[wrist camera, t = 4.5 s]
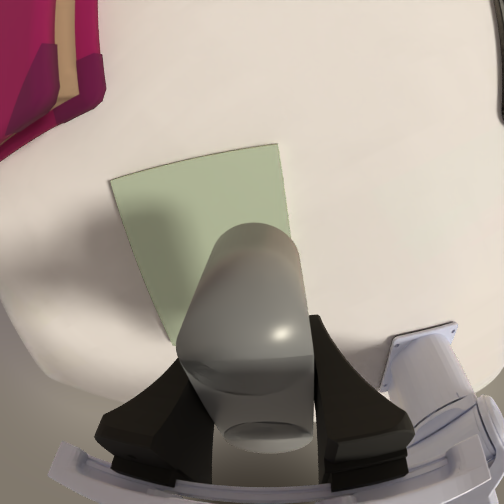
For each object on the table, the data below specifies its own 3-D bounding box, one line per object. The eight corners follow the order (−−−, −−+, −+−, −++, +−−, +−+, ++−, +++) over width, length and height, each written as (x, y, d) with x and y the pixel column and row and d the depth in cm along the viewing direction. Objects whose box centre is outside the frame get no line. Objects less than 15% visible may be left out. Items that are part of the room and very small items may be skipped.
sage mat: (300, 334, 24) (301, 339, 23) (174, 341, 25) (173, 345, 25) (277, 143, 16) (277, 144, 16) (114, 178, 18) (110, 180, 18)
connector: (307, 391, 17) (311, 463, 12) (249, 395, 17) (242, 465, 12) (296, 217, 11) (312, 299, 6) (201, 228, 12) (156, 310, 7)
